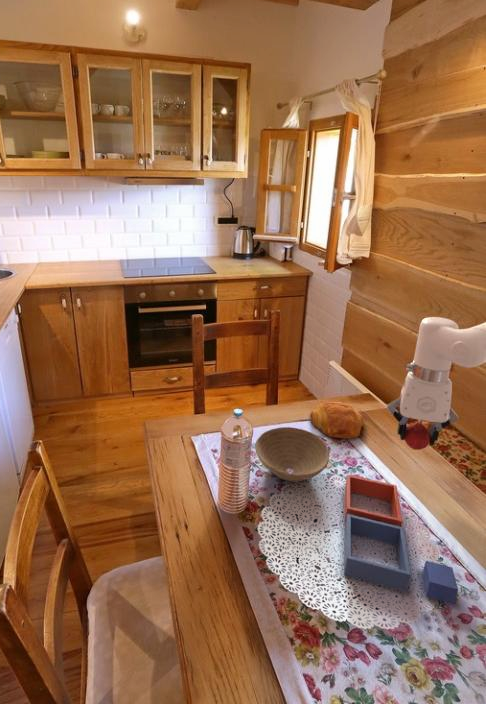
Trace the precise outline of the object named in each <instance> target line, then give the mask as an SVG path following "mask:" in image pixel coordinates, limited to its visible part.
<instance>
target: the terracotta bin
mask: <svg viewBox="0 0 486 704" xmlns="http://www.w3.org/2000/svg"><path fill="white" fill-rule="evenodd" d="M351 493H354V494H359V495H362V496H368V497H371V498H376V499H380V500H385V501H389V502H390V509H391V515H392V516H390V515H387V514H382V513H378V512H374V511H369V510H364V509H361V508H356V507H353V506H351ZM399 497H400V496H399V491H398V485H396V484H392V483H388V482H383V481H380V480H374V479H369V478H365V477H360V476H356V475H351V474H346V479H345V484H344V510H343V511H344V513H343V515H344V517H343V518H344V521H343V523H344V524H345V523H346V517H347V514H350V515H354V516H358V517H362V518H366V519H370V520H374V521H379V522H383V523H387V524H391V525H395V526H399V527H402V525H403V516H402V509H401V504H400V498H399Z"/></svg>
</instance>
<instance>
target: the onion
mask: <svg viewBox="0 0 486 704" xmlns="http://www.w3.org/2000/svg"><path fill="white" fill-rule="evenodd" d="M430 439H431V437H430V429H429V428H428V427H427V426H425V424H423V420H419V419H417V421H416V422H414V423H410V424H409V425H407V429H406V434H405V439H404V440H403V441H404V442H405V444H406V445H407V446H408V447H409V448H410V449H412V450H413V451H418V450H419V451H420V450H423V449H426V448H427V447H429V445H430Z"/></svg>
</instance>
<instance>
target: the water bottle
mask: <svg viewBox="0 0 486 704" xmlns="http://www.w3.org/2000/svg"><path fill="white" fill-rule="evenodd" d="M232 412H233V414H232V415H231V416H229V417H227V419H225V420H224V422H222V424H221V426H220V453H219V462H218V463H219V464H218V488H217V491H218V492H217V505H218V507H219V509H220V510H221V511H223V512H224V513H226V514H229V515H238V514H241V513H243V512H244V511H246V509H247V507H248V503H249V493H250V492H249V491H250V478H251V477H250V476H251V467H252V465H251V464H252V459H251V458H252V457H251V456H252V445H253V444H252V443H253V437H254V427H253V425H252V423H251V421H250V420H248V418H246V417H245V416H243V410H242V409H241V408H236V409H234V410H233V411H232Z"/></svg>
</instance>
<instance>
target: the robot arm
mask: <svg viewBox="0 0 486 704" xmlns="http://www.w3.org/2000/svg"><path fill="white" fill-rule="evenodd" d="M418 329H419V330H418V335H417V340H416V345H415V351H414V356H413V360H412V362H411V363H405V368H404V369H405V370H407V371H408V372H407V374H406V377H405V378H404V381H403V385H402V388H401V391H400V395H399V397H397V398H395V399H394V400H392V401H391V402H389V403H388V404H386V408H387V410H388V412H389V413H390V414H392V415H393V417H394V418H395V419H396V421H397V422H398V425H397V430H396V431H397V435H399V438H400V440H401V441H405V440H404V439H405V434H406V429H407V427H408V425H407V422H408V421H409V419H413V420H421V421H424V422H425V421H426V422H432V424H431V425H430V428H429V432H430V437H431V439H430V443H429V445H431V446H435V442H438V440H439V435H440V432H442V431H443V429H445V428H447V427H449V426H451V424H453V423H456V422H458V421H459V416H458V414H457V413H456V412H455V411H454V409H453V408H452V407H451V404H452V395H453V394H452V393H453V383H452V380H451V379H450V378H449V377H450V372H451V367H452V364H455V365H457V366H458V367H461V368H466V369H467V368H468V369H471V368H477V367H480V366H481V365H484V364H486V321H485V322H483V323H480V324H478V325H474V326H471V327H468V328H460V327H459V324H458V323H457V322H455V321H454V320H452V319H449V318H445V317H439V316H429V317H425V318H423V319H422V320H421V322H420V325H419V328H418ZM396 408H399V410H397V409H396Z"/></svg>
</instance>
